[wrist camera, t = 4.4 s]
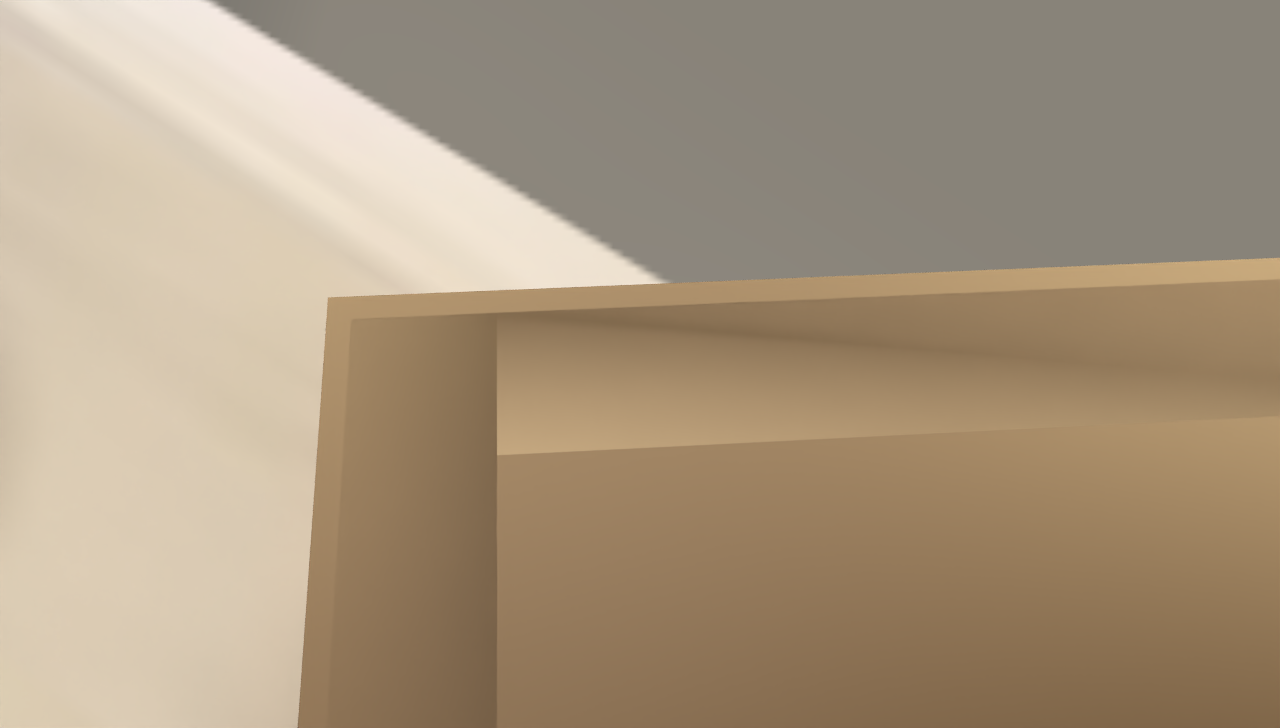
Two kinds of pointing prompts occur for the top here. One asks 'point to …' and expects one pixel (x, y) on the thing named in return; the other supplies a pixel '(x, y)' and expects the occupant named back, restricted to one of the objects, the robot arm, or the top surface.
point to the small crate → (803, 503)
